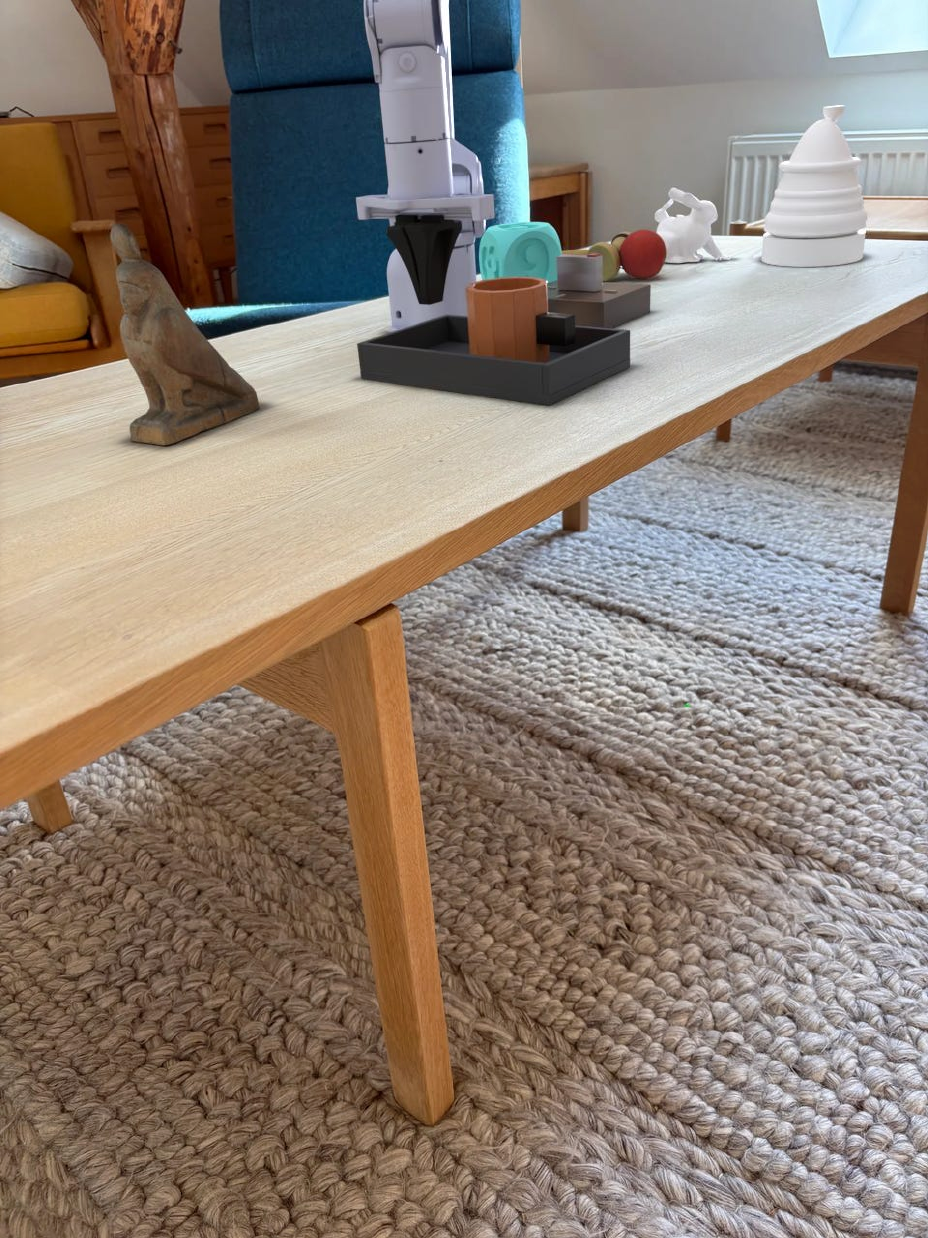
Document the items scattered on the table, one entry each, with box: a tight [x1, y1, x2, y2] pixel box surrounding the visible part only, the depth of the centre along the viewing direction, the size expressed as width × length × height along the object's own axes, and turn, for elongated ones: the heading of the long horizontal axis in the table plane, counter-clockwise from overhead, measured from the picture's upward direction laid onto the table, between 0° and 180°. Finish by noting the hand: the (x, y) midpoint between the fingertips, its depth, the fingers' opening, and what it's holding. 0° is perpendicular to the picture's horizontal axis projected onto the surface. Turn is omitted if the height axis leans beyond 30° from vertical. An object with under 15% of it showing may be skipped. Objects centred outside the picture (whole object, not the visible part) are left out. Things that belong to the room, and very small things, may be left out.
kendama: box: [561, 228, 667, 282], centre depth 129 cm, size 8×6×18 cm
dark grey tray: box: [356, 315, 631, 406], centre depth 89 cm, size 21×13×3 cm, turn 52°
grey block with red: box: [557, 253, 604, 292], centre depth 106 cm, size 5×1×4 cm, turn 52°
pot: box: [466, 277, 575, 363], centre depth 86 cm, size 10×7×7 cm
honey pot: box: [761, 105, 868, 268], centre depth 127 cm, size 13×13×18 cm
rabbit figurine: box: [654, 187, 733, 264], centre depth 134 cm, size 12×8×10 cm, turn 50°
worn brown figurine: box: [110, 222, 260, 446], centre depth 78 cm, size 12×6×18 cm, turn 145°
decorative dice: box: [478, 221, 563, 283], centre depth 122 cm, size 8×8×8 cm
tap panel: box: [547, 280, 652, 329], centre depth 108 cm, size 12×10×3 cm
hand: (430, 302), depth 91 cm, fingers closed
